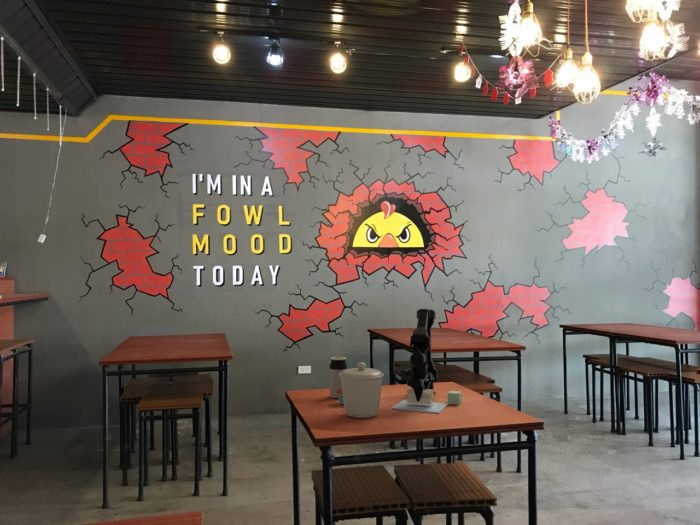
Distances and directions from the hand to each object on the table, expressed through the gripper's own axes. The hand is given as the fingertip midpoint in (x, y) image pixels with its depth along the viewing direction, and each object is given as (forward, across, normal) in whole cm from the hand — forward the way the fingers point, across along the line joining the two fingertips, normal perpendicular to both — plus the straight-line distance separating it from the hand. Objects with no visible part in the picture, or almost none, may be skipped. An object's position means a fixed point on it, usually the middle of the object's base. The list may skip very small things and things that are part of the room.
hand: (420, 399), depth 235 cm
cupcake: (+3, +6, -32) cm, 33 cm away
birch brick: (+1, 0, 0) cm, 1 cm away
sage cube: (+3, -12, +12) cm, 17 cm away
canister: (+3, +22, -18) cm, 29 cm away
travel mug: (+3, -4, -40) cm, 40 cm away
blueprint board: (+3, 0, 0) cm, 3 cm away
